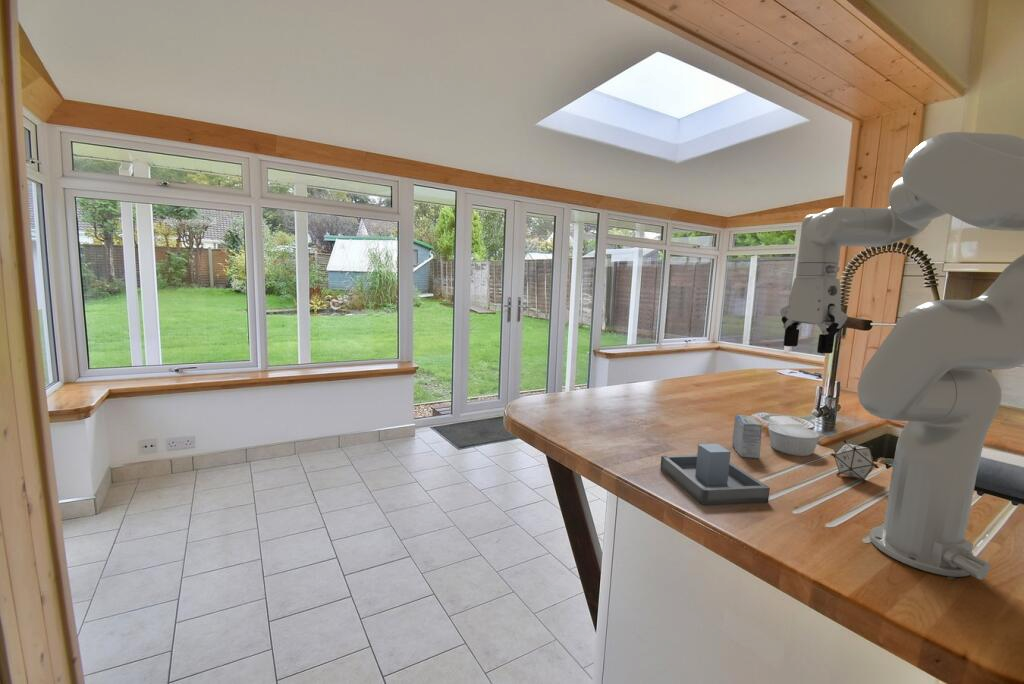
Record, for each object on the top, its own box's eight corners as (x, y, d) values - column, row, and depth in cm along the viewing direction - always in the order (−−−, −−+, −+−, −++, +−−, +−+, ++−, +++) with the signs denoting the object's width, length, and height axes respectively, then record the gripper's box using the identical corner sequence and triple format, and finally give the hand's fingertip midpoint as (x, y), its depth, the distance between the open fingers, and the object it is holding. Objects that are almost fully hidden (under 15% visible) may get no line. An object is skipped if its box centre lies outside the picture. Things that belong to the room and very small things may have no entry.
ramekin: (756, 444, 122) (759, 425, 121) (787, 440, 126) (789, 422, 125) (795, 460, 111) (798, 439, 111) (827, 455, 115) (829, 435, 115)
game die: (852, 497, 101) (853, 470, 95) (821, 469, 108) (820, 443, 102) (889, 478, 101) (891, 451, 95) (855, 452, 108) (856, 425, 102)
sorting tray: (768, 502, 89) (769, 487, 88) (702, 505, 87) (703, 490, 86) (716, 466, 106) (718, 454, 105) (660, 468, 103) (661, 455, 103)
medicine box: (759, 459, 111) (763, 425, 110) (740, 457, 112) (743, 423, 111) (749, 447, 119) (753, 415, 118) (731, 446, 120) (734, 414, 118)
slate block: (727, 483, 94) (730, 451, 93) (707, 484, 93) (710, 452, 92) (714, 474, 99) (717, 443, 98) (695, 475, 98) (698, 444, 97)
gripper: (867, 272, 91) (855, 356, 93) (800, 273, 108) (792, 344, 110) (834, 271, 90) (823, 355, 92) (772, 271, 107) (764, 343, 109)
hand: (806, 349), depth 101 cm, fingers open, 9 cm apart
